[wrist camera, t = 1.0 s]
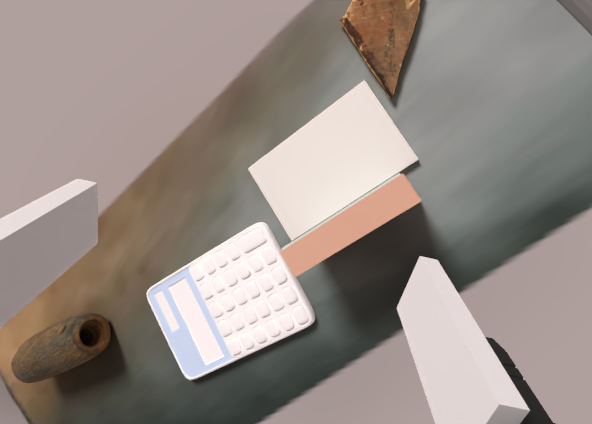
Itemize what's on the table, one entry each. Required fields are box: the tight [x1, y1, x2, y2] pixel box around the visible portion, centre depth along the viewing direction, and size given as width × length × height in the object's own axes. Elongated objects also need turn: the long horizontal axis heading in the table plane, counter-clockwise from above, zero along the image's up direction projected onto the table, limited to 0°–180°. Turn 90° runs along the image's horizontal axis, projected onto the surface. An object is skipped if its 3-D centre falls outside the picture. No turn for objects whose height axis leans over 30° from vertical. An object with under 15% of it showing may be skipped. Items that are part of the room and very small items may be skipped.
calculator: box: [147, 222, 315, 380], centre depth 43 cm, size 13×20×2 cm, turn 120°
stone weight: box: [11, 313, 111, 383], centre depth 49 cm, size 15×7×7 cm, turn 120°
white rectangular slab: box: [248, 80, 418, 241], centre depth 38 cm, size 16×10×1 cm, turn 123°
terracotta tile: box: [280, 173, 421, 277], centre depth 33 cm, size 12×3×10 cm, turn 123°
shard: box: [340, 0, 421, 99], centre depth 36 cm, size 11×8×2 cm
